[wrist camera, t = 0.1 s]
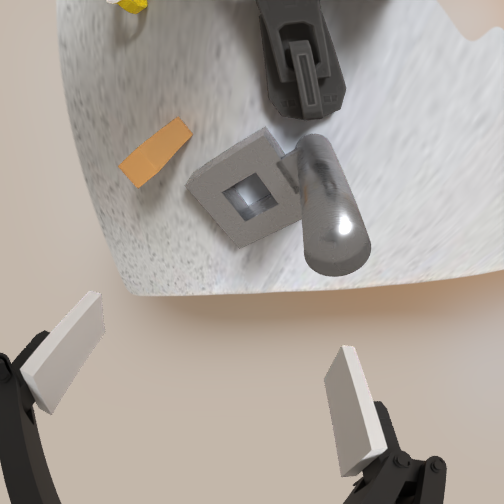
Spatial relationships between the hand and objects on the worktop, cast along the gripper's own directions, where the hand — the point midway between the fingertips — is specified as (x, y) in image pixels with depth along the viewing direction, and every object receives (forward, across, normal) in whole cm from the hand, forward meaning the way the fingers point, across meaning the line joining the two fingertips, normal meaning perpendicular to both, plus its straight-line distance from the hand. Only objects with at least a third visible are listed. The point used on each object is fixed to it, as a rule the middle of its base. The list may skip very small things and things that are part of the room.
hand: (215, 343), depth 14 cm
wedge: (+26, -11, +9) cm, 30 cm away
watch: (+20, -19, +27) cm, 39 cm away
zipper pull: (+21, 0, +26) cm, 33 cm away
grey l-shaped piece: (+27, +2, +6) cm, 28 cm away
